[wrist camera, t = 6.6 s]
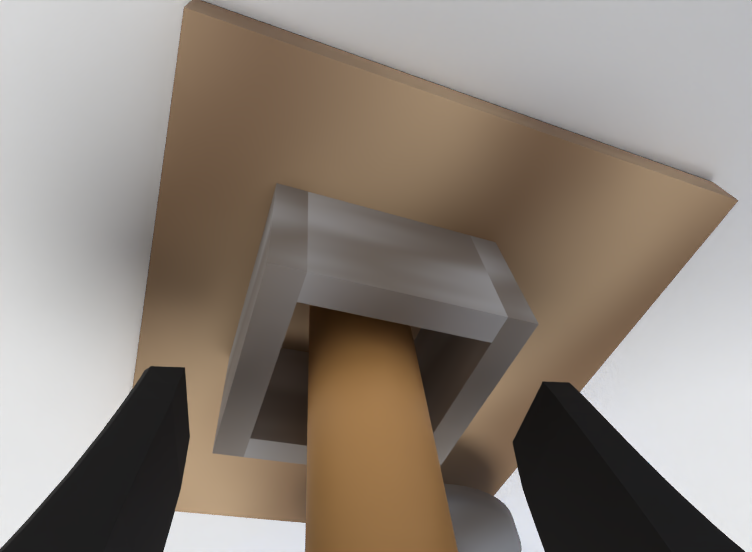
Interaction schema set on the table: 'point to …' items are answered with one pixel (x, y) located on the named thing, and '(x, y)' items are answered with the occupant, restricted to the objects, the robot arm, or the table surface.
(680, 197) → the wooden board with socket
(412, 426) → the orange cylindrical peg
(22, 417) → the table surface
